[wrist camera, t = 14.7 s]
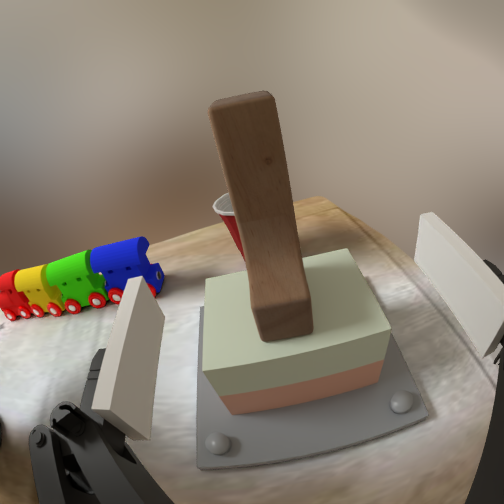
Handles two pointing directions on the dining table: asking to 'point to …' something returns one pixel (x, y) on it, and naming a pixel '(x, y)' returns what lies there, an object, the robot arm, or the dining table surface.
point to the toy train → (78, 280)
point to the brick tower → (299, 373)
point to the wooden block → (263, 212)
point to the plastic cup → (228, 218)
